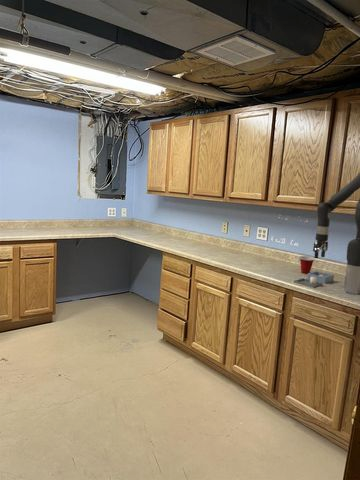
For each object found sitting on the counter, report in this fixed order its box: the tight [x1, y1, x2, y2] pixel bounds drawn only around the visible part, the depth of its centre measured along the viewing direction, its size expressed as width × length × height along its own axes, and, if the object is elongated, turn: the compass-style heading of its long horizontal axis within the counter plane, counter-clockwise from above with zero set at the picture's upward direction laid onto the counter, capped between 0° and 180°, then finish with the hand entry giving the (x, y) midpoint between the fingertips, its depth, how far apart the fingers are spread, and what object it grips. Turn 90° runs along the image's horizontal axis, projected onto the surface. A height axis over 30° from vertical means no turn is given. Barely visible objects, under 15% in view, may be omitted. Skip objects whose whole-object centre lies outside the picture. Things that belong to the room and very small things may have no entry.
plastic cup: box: [299, 255, 316, 275], centre depth 269 cm, size 11×11×12 cm
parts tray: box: [293, 278, 324, 289], centre depth 239 cm, size 14×12×2 cm
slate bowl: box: [306, 270, 335, 284], centre depth 250 cm, size 13×13×4 cm
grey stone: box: [310, 277, 317, 285], centre depth 236 cm, size 4×4×5 cm
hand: (319, 257), depth 240 cm, fingers open, 8 cm apart
